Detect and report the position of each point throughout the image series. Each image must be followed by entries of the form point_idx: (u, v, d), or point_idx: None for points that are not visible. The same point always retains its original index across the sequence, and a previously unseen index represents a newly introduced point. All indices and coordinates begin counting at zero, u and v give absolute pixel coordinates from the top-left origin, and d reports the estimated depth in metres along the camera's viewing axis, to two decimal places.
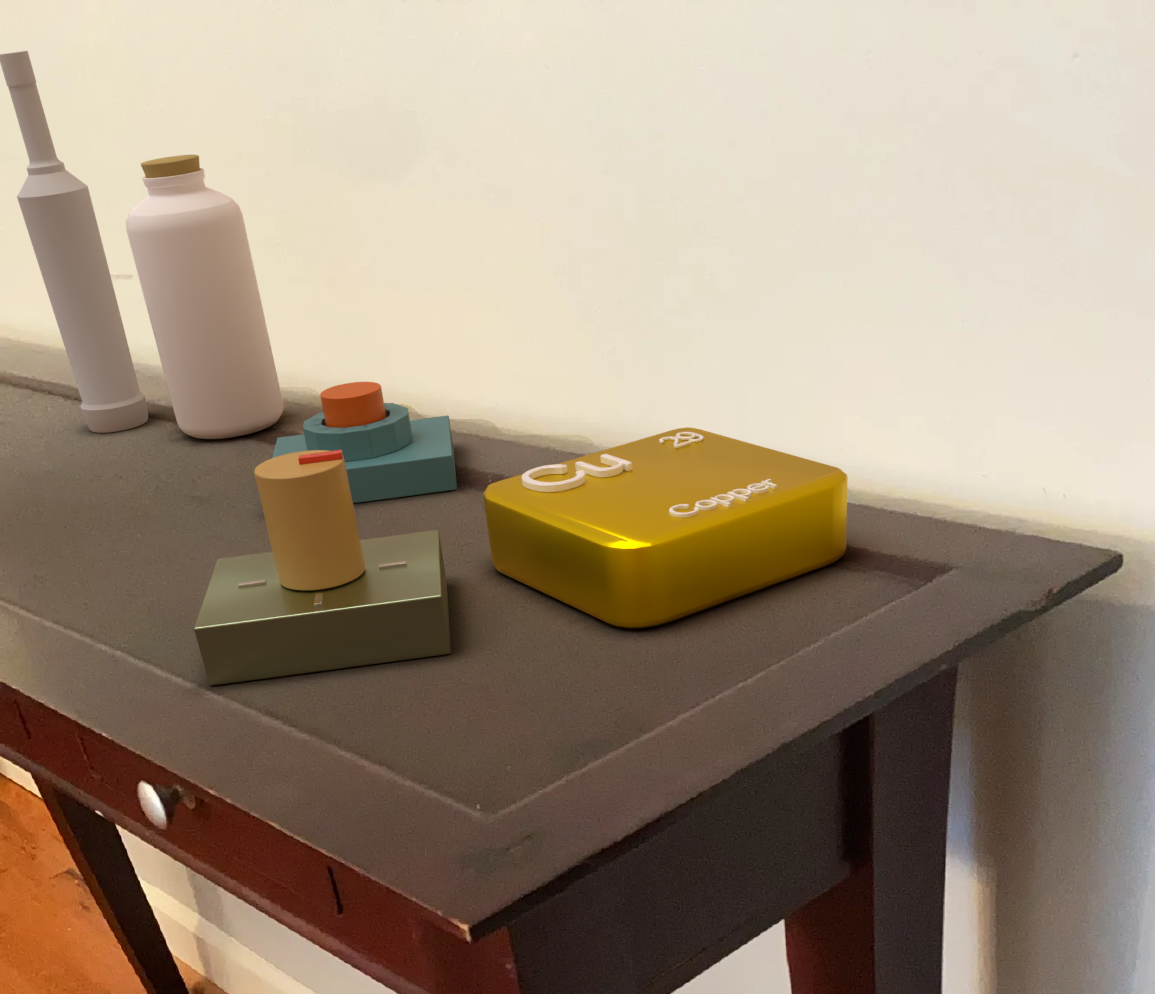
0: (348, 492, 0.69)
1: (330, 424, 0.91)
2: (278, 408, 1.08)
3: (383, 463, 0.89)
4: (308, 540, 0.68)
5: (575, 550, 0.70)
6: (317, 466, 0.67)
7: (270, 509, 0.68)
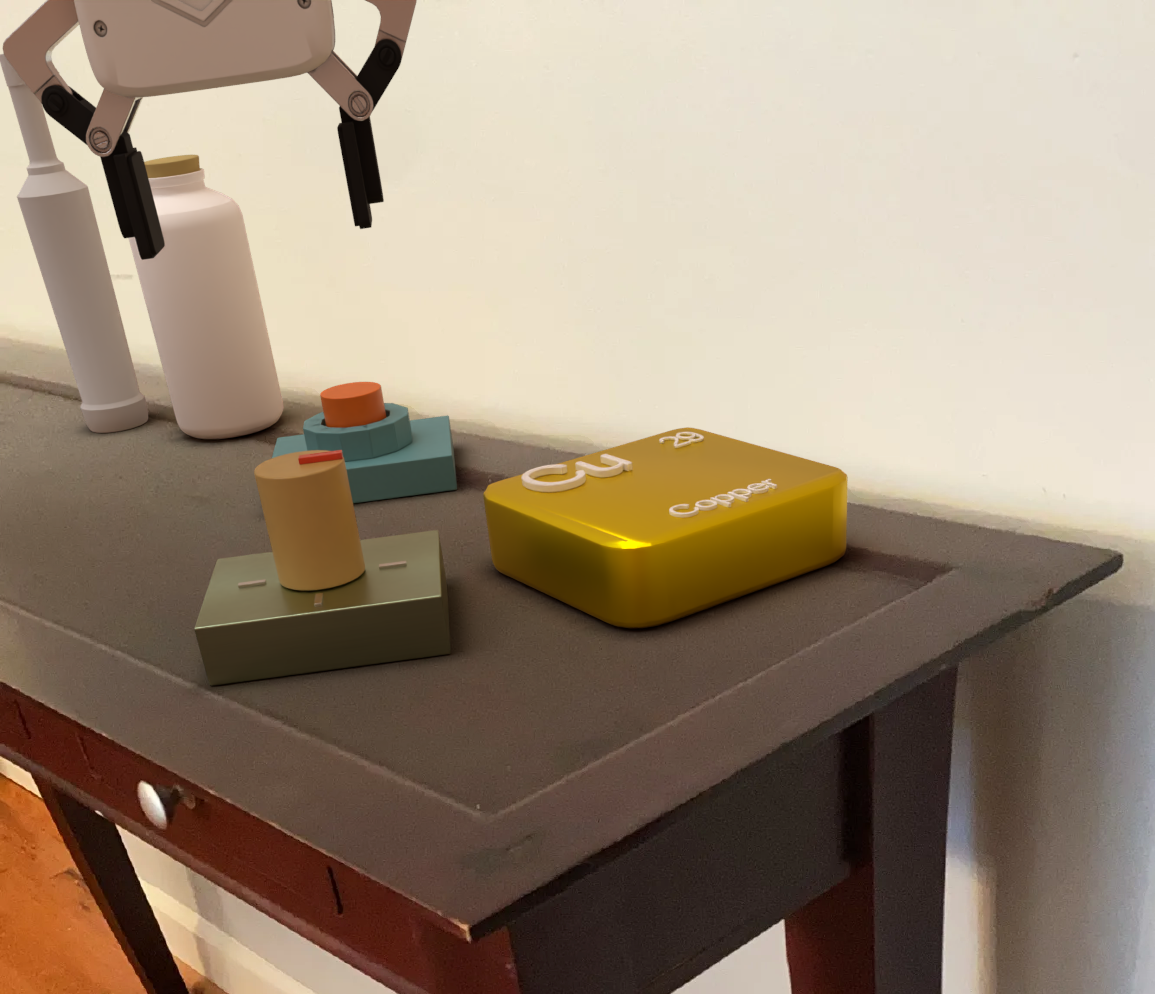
0: (348, 492, 0.69)
1: (330, 424, 0.91)
2: (278, 408, 1.08)
3: (383, 463, 0.89)
4: (308, 540, 0.68)
5: (575, 549, 0.70)
6: (317, 466, 0.67)
7: (270, 509, 0.68)
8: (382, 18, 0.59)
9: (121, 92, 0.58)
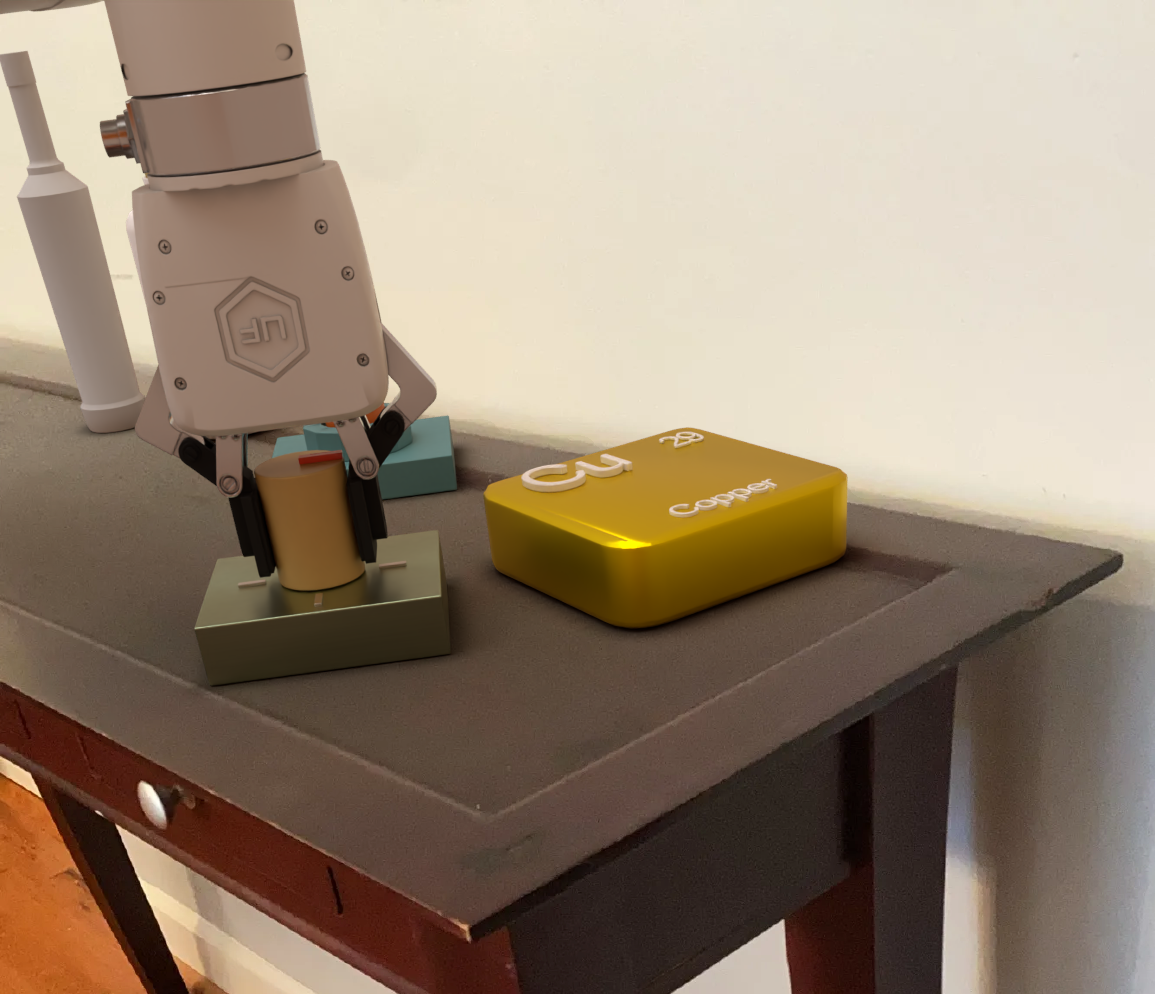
0: None
1: (330, 424, 0.91)
2: None
3: (383, 463, 0.89)
4: (309, 540, 0.68)
5: (575, 549, 0.70)
6: (317, 466, 0.67)
7: (270, 509, 0.68)
8: (400, 398, 0.66)
9: (197, 433, 0.64)
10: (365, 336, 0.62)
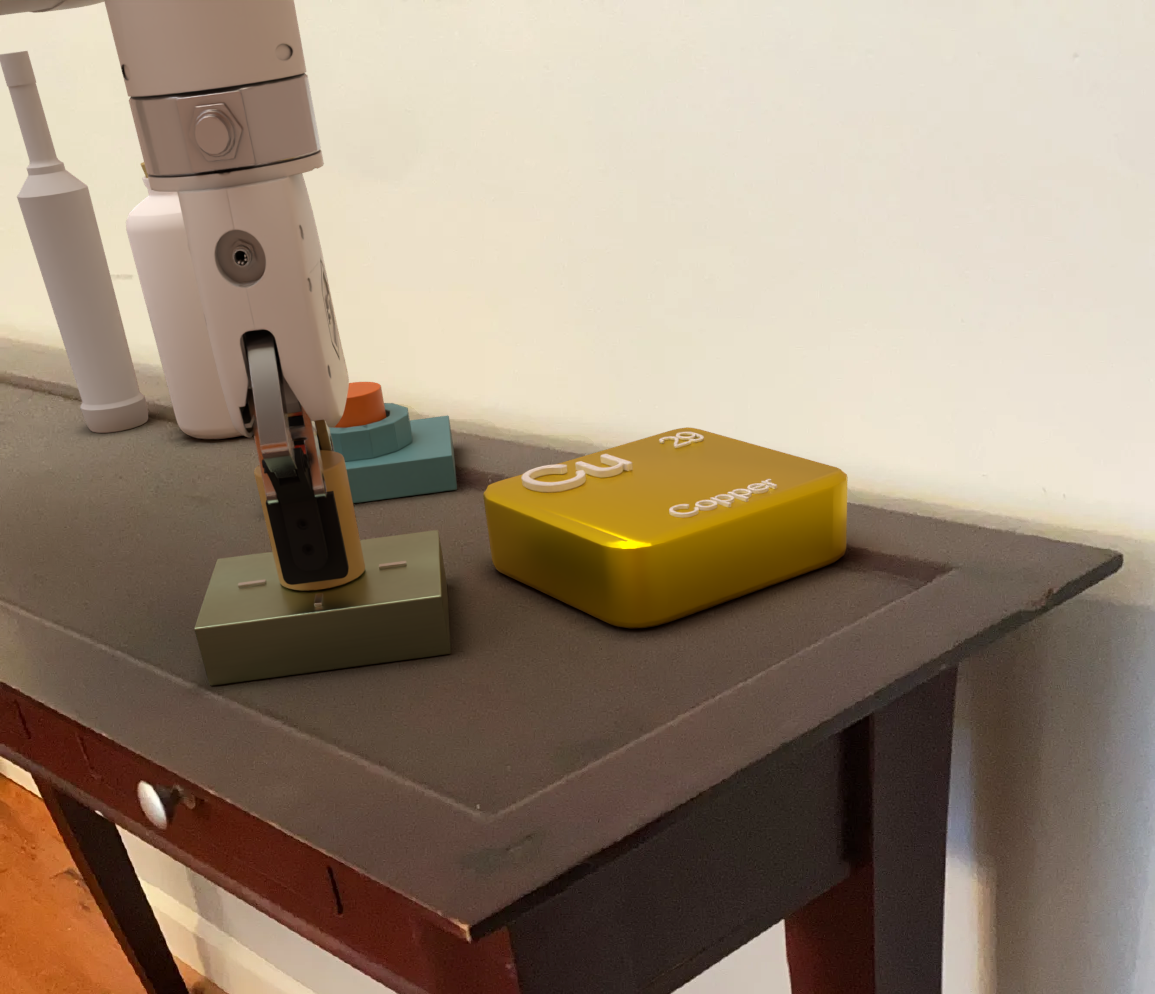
0: None
1: None
2: None
3: (383, 463, 0.89)
4: None
5: (575, 549, 0.70)
6: None
7: None
8: None
9: (337, 422, 0.63)
10: None
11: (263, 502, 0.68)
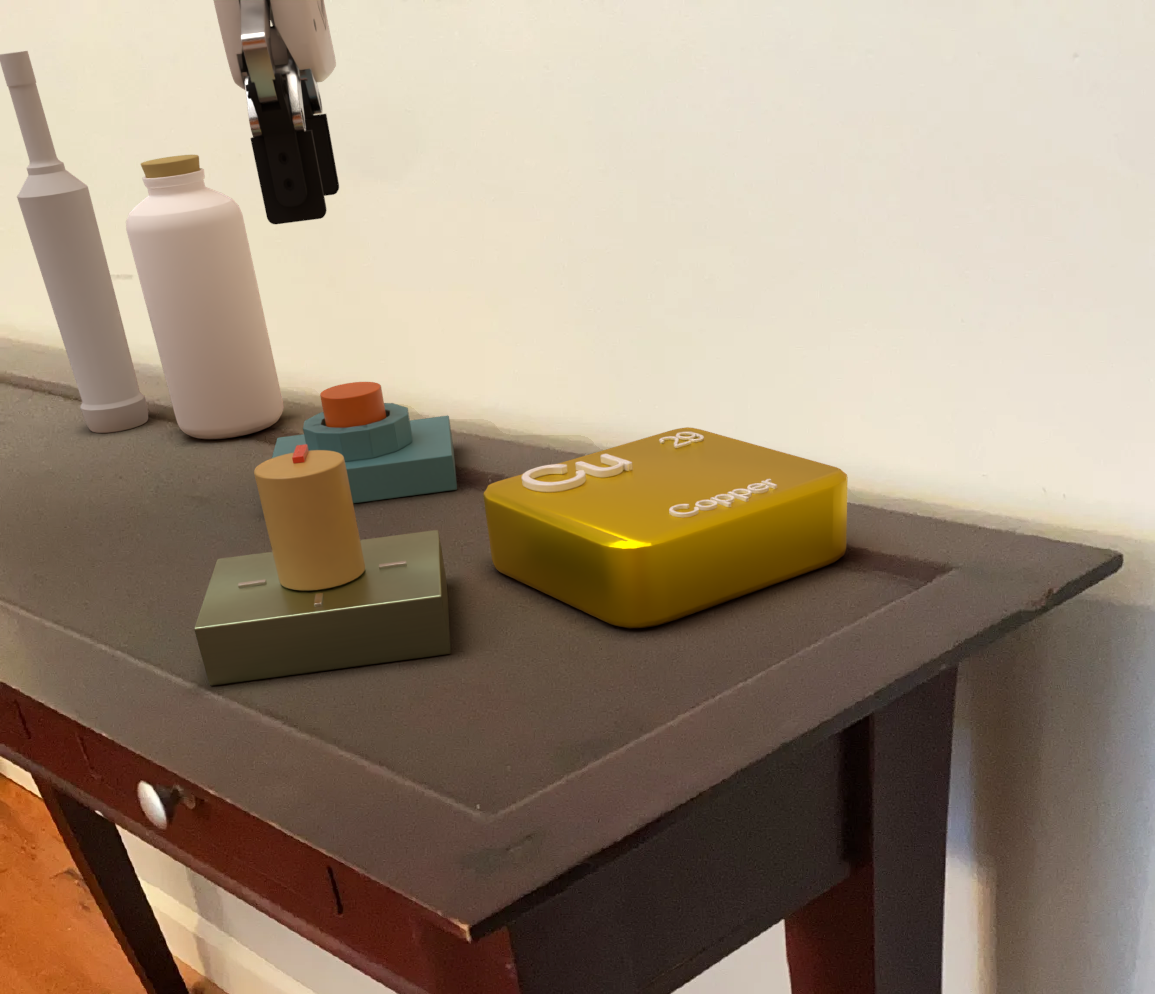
0: None
1: (330, 424, 0.91)
2: (278, 408, 1.08)
3: (383, 463, 0.89)
4: (355, 521, 0.70)
5: (575, 549, 0.70)
6: (321, 455, 0.69)
7: (333, 502, 0.68)
8: None
9: (322, 76, 0.73)
10: None
11: (263, 502, 0.68)
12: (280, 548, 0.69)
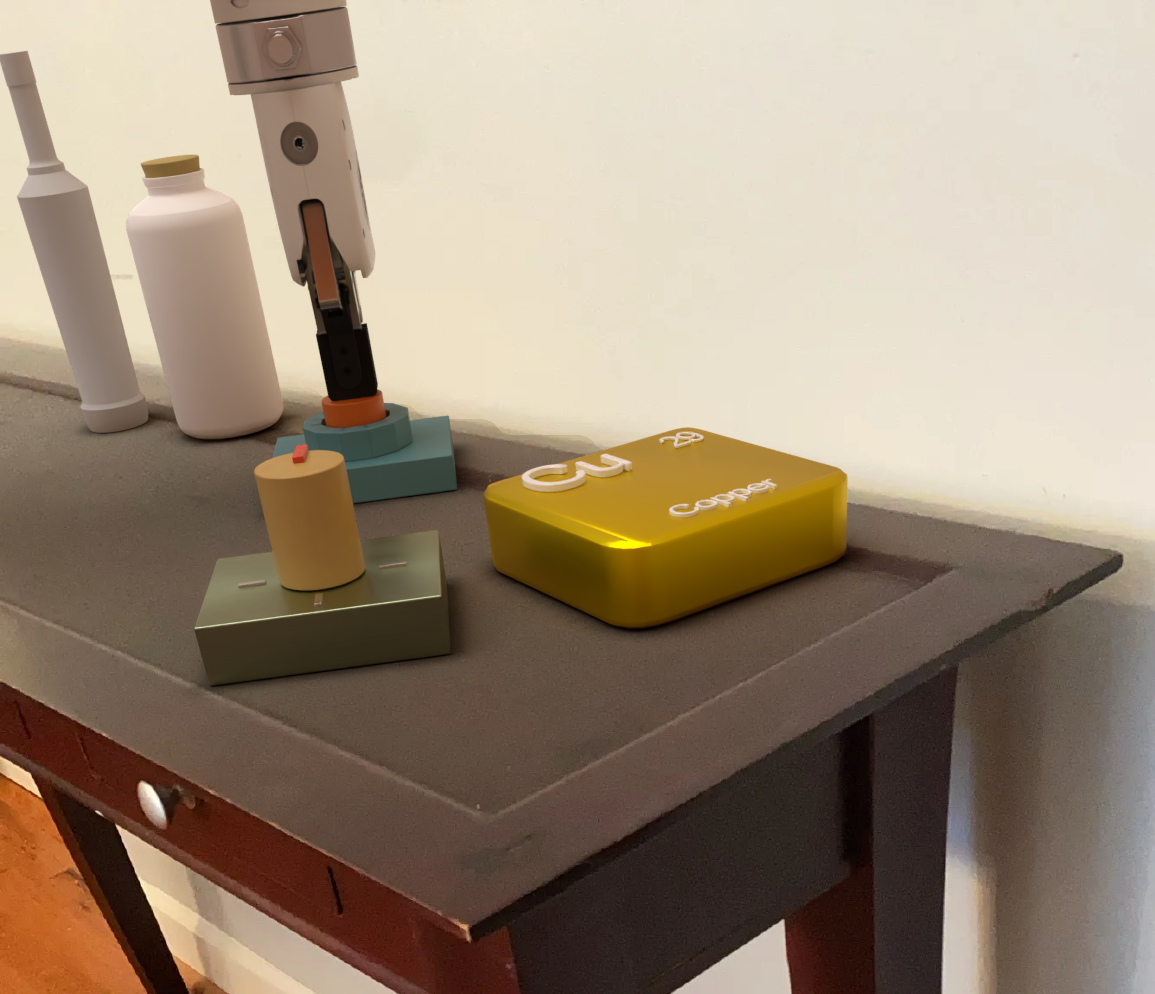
0: None
1: None
2: (278, 408, 1.08)
3: (383, 463, 0.89)
4: (355, 521, 0.70)
5: (575, 549, 0.70)
6: (321, 455, 0.69)
7: (333, 502, 0.68)
8: None
9: (369, 274, 0.84)
10: None
11: (263, 502, 0.68)
12: (280, 548, 0.69)
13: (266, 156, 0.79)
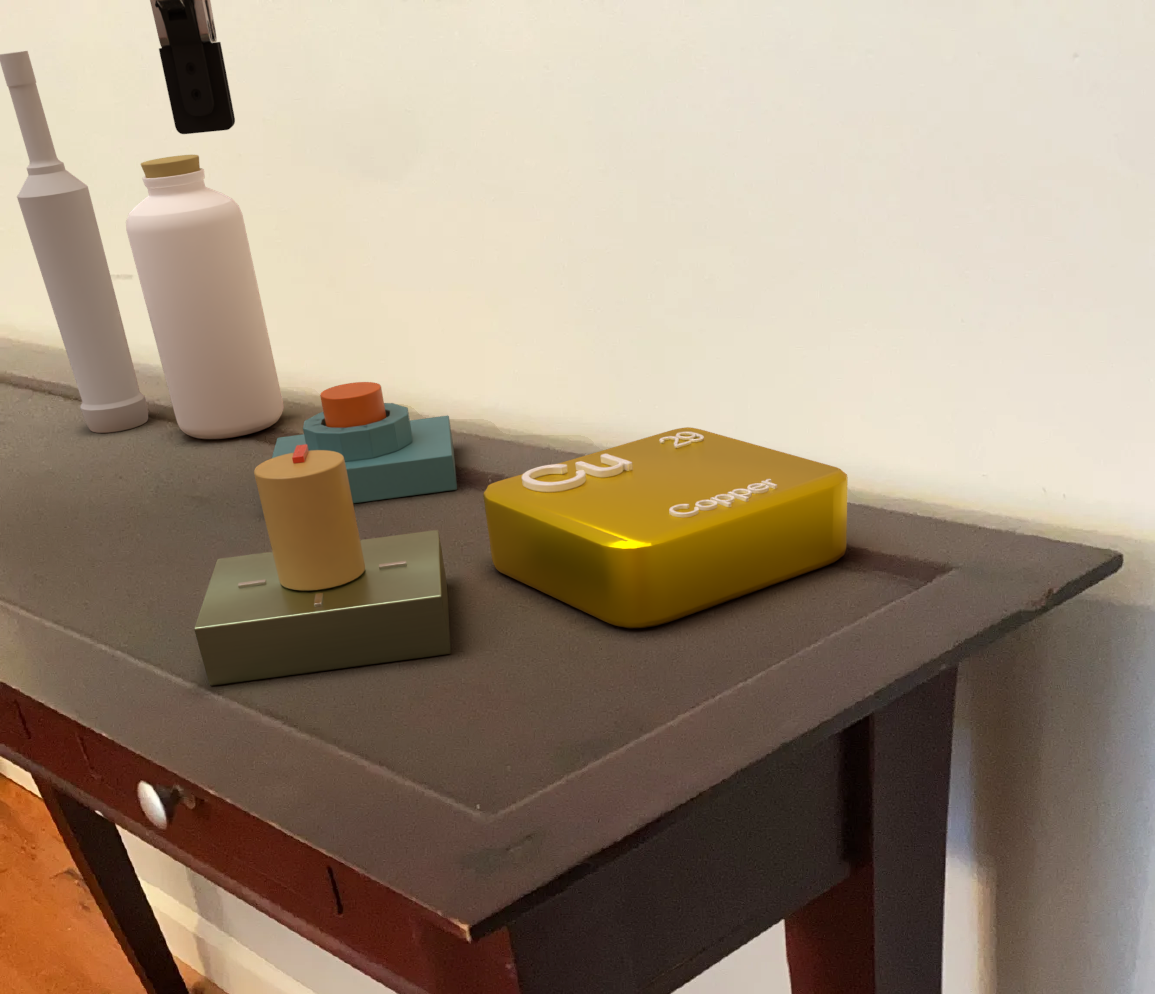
0: None
1: (330, 425, 0.91)
2: (278, 408, 1.08)
3: (383, 463, 0.89)
4: (355, 521, 0.70)
5: (575, 549, 0.70)
6: (321, 455, 0.69)
7: (333, 502, 0.68)
8: None
9: None
10: None
11: (263, 502, 0.68)
12: (280, 548, 0.69)
13: None
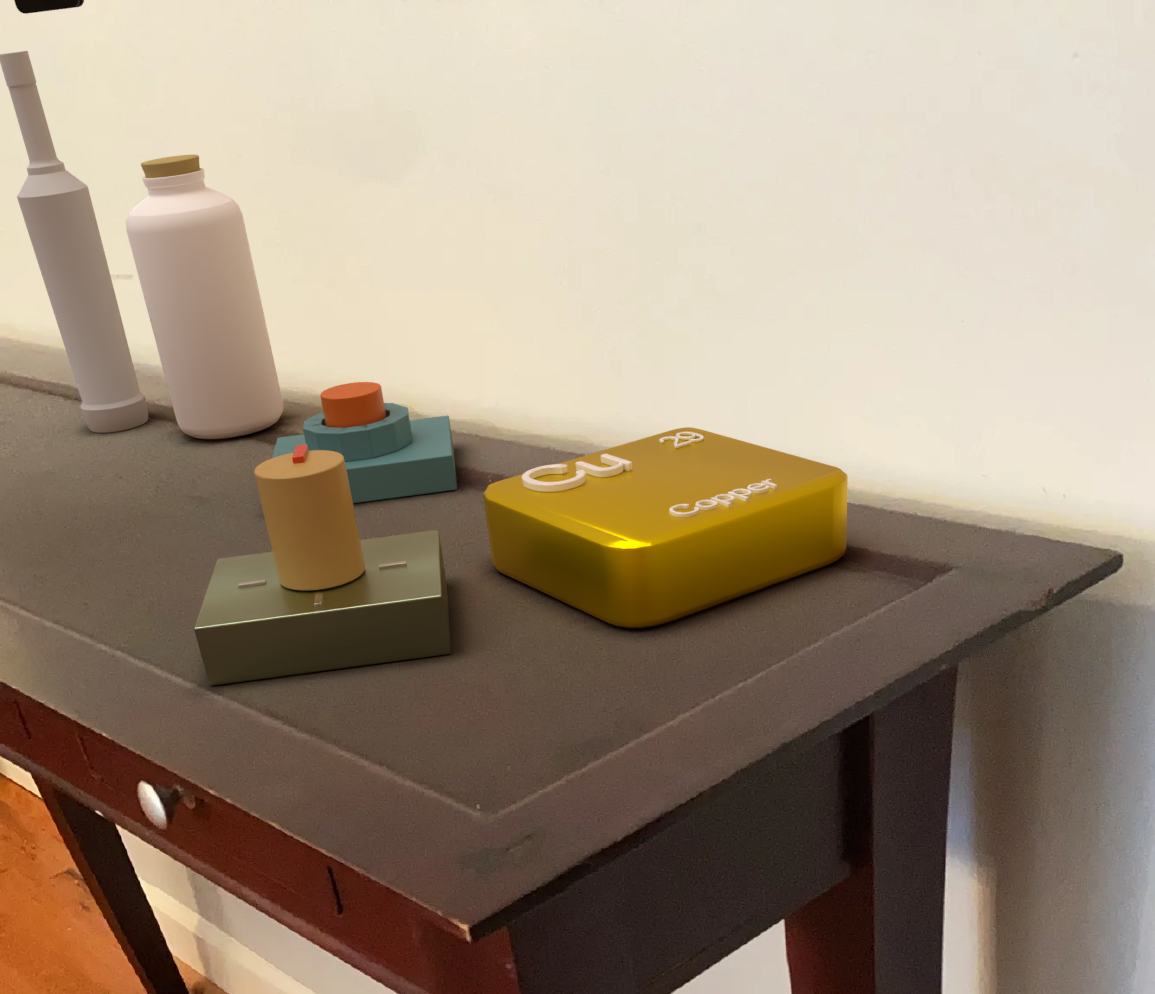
0: None
1: (330, 425, 0.91)
2: (278, 408, 1.08)
3: (383, 463, 0.89)
4: (355, 521, 0.70)
5: (575, 549, 0.70)
6: (321, 455, 0.69)
7: (333, 502, 0.68)
8: None
9: None
10: None
11: (263, 502, 0.68)
12: (280, 548, 0.69)
13: None
